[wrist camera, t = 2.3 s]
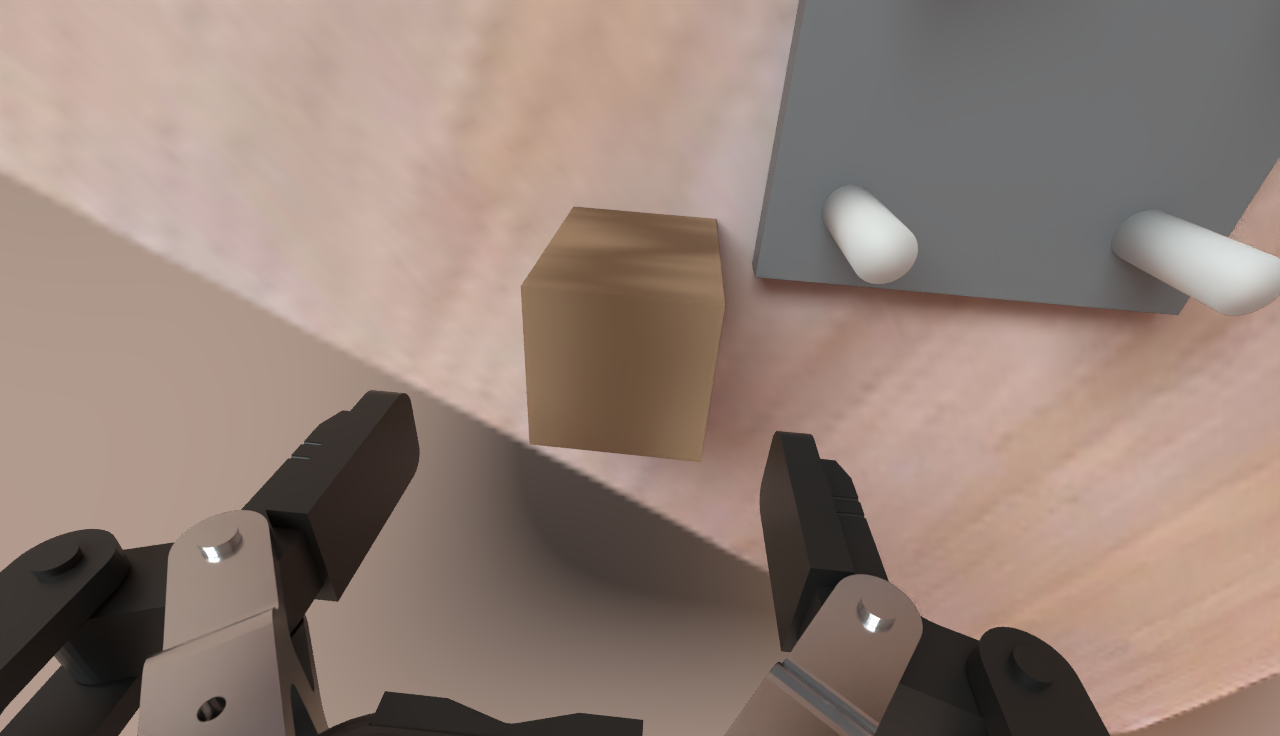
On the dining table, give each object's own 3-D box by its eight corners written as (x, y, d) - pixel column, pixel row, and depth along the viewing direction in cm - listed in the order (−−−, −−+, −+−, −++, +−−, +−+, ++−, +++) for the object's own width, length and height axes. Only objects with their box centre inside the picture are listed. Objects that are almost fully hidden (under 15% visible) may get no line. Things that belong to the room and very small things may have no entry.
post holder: (1507, -288, 12) (1973, -466, 8) (1152, 300, 20) (1286, 380, 15) (855, -319, 13) (942, -503, 8) (752, 264, 20) (768, 332, 16)
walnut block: (716, 218, 19) (725, 304, 13) (699, 343, 22) (700, 461, 16) (573, 206, 20) (521, 285, 14) (573, 331, 22) (529, 444, 16)
